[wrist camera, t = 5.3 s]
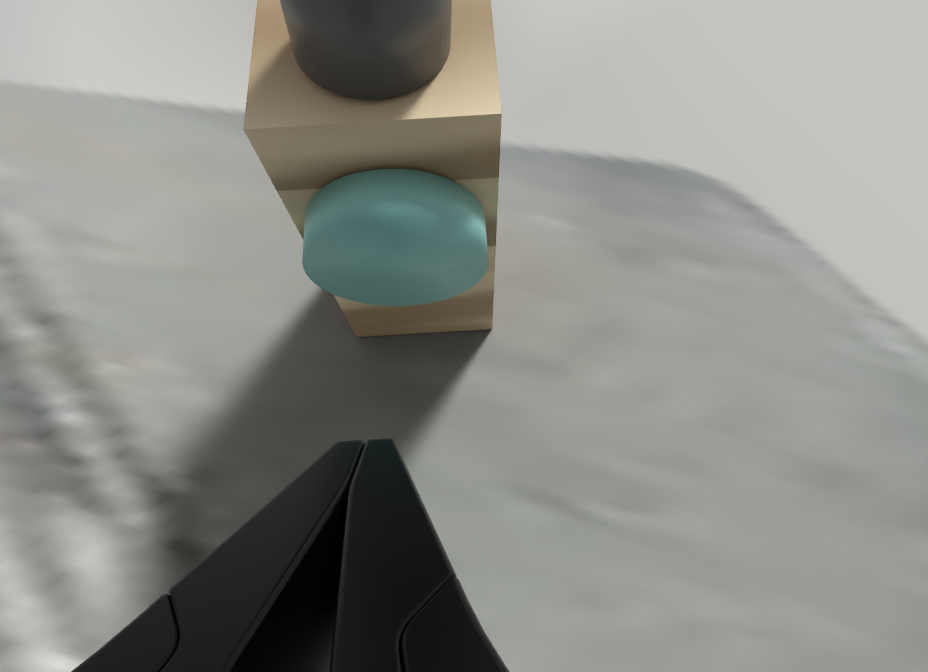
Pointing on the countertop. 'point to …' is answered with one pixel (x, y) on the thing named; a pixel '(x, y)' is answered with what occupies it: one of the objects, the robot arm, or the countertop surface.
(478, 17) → the mount
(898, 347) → the countertop surface
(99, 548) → the countertop surface
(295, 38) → the dial
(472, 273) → the knob
